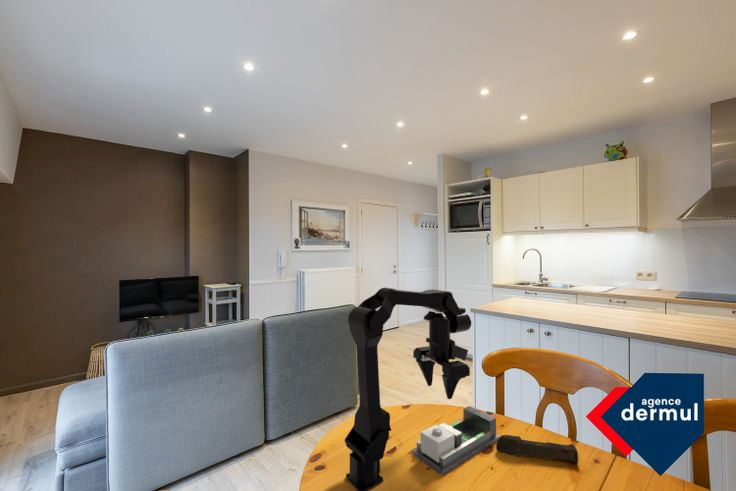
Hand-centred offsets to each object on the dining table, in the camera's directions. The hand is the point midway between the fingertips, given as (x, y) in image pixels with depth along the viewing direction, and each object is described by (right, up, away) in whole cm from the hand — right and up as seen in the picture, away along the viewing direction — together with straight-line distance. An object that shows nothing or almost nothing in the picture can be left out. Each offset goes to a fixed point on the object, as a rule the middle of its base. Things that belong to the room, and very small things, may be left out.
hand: (439, 392), depth 90 cm
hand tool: (+23, -14, -7) cm, 28 cm away
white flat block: (+2, -12, -4) cm, 13 cm away
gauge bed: (+4, -14, -2) cm, 15 cm away
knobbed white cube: (-2, -12, -7) cm, 14 cm away
